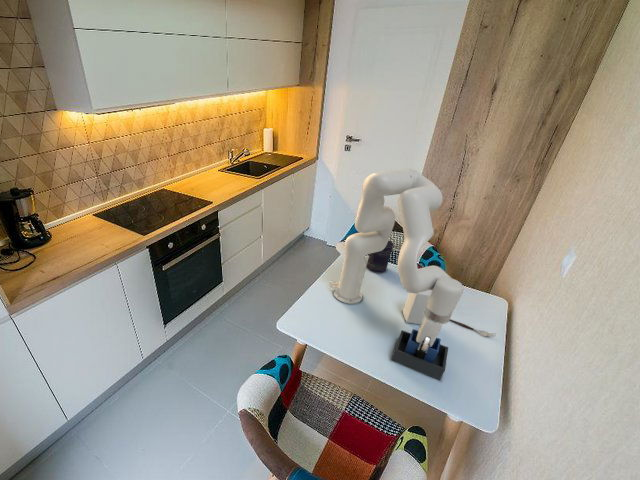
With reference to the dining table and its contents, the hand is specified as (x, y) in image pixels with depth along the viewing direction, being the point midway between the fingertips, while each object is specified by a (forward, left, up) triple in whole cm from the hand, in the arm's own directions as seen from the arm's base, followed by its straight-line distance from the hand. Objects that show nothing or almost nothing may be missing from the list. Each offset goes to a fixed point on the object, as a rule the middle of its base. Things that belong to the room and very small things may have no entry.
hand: (420, 350), depth 113 cm
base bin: (0, 0, -4) cm, 4 cm away
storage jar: (-28, +55, -4) cm, 62 cm away
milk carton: (-5, +23, -4) cm, 24 cm away
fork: (+16, +29, -4) cm, 33 cm away
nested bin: (0, 0, -1) cm, 1 cm away
